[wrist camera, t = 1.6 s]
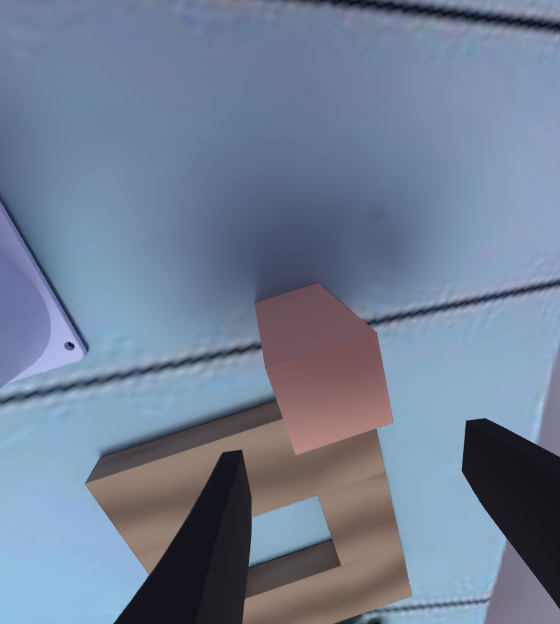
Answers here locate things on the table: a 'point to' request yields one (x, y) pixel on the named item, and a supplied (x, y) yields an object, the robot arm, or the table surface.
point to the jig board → (266, 497)
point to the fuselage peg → (322, 367)
